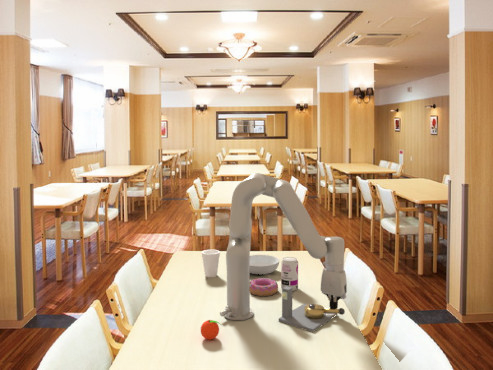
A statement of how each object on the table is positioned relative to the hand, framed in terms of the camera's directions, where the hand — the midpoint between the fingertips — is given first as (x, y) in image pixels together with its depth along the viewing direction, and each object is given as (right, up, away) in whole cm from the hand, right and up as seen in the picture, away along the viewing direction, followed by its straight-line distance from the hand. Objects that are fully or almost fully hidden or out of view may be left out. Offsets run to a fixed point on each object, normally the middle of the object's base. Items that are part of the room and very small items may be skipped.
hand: (333, 309), depth 186 cm
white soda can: (-15, +1, +32) cm, 36 cm away
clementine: (-49, -6, -19) cm, 53 cm away
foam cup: (-55, +3, +53) cm, 76 cm away
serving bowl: (-29, +4, +58) cm, 65 cm away
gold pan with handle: (-4, -2, -2) cm, 5 cm away
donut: (-28, 0, +29) cm, 40 cm away
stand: (-11, -3, -2) cm, 11 cm away
